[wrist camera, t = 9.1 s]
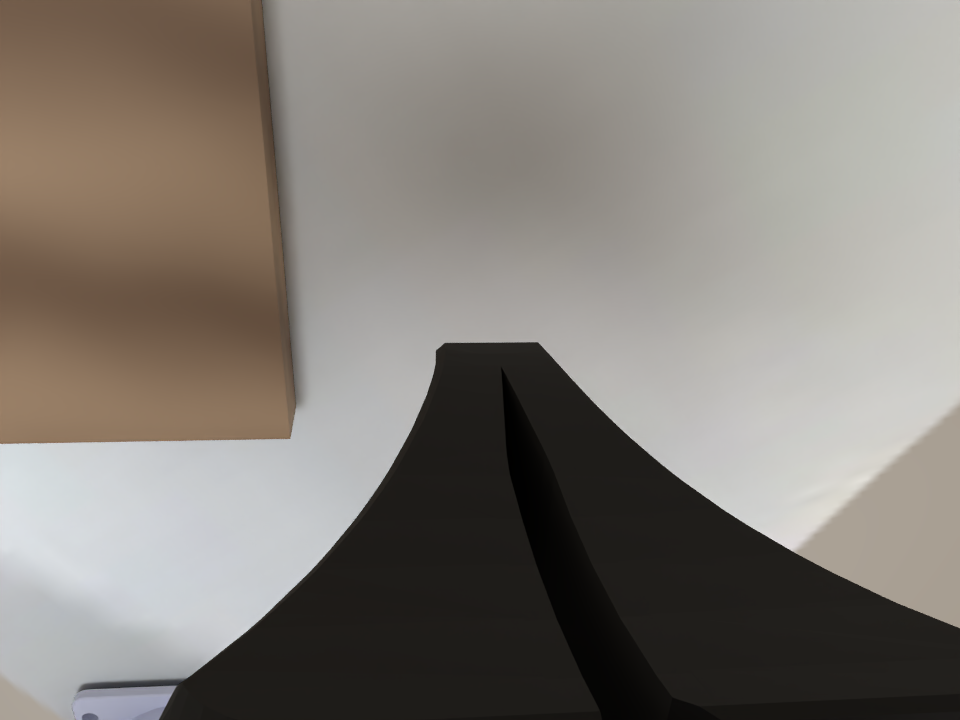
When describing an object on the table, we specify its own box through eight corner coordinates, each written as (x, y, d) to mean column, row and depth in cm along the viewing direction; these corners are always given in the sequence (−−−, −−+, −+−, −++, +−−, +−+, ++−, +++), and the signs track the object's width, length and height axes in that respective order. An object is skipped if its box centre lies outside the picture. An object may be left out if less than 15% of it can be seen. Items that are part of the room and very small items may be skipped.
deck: (295, 405, 23) (290, 438, 22) (-91, 411, 23) (-120, 445, 21) (204, -673, 13) (183, -729, 12) (-516, -747, 12) (-622, -815, 11)
